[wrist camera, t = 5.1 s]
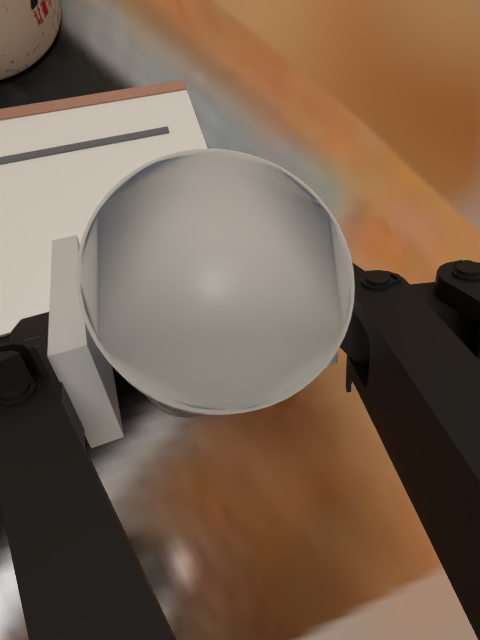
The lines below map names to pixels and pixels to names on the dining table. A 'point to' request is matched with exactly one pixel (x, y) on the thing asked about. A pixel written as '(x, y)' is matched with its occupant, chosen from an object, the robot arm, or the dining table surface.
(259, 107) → the dining table surface
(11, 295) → the sheet
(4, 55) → the teacup with lid
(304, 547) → the dining table surface
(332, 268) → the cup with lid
